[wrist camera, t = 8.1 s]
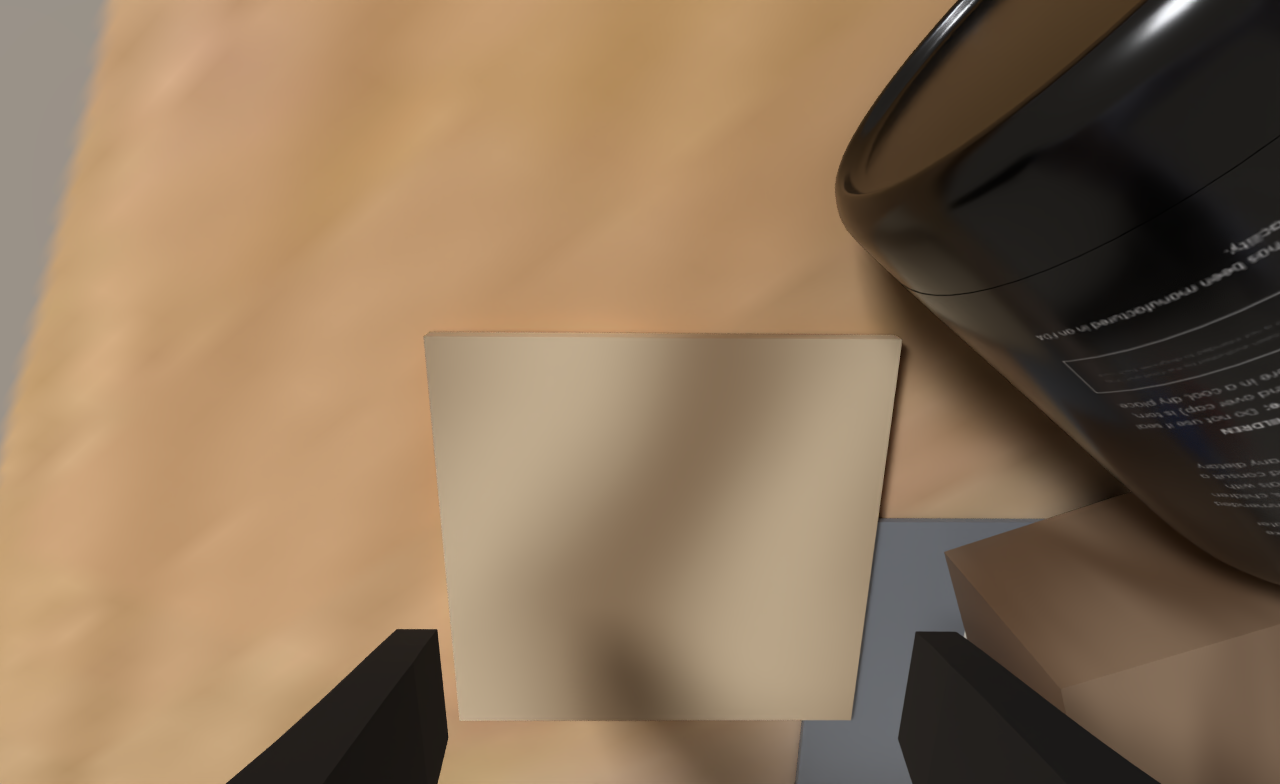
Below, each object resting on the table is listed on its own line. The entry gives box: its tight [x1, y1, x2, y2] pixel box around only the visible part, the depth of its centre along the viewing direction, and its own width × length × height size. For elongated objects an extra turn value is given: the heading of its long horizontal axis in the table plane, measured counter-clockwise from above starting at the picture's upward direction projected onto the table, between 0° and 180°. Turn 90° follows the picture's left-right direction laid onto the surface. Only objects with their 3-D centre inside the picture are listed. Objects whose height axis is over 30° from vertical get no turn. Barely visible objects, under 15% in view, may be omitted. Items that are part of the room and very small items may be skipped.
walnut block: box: [944, 492, 1280, 784], centre depth 12 cm, size 4×4×4 cm
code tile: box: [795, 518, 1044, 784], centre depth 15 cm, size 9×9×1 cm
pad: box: [424, 332, 902, 721], centre depth 14 cm, size 9×9×1 cm
